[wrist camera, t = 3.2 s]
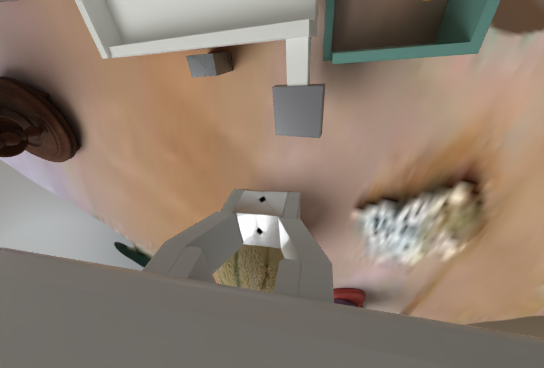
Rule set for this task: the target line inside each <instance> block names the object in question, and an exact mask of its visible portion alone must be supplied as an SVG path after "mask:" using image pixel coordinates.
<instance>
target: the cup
mask: <svg viewBox="0 0 544 368" xmlns="http://www.w3.org/2000/svg"><path fill="white" fill-rule="evenodd" d="M499 3H500V0H448V2H447V6H446V9H445V12H444V15H443V18H442V21H441V25H440V28H439V31H438V34H437V37H436V40H435V42H432V43H421V44H409V45H398V46H386V47H375V48H363V49H352V50H340V51H331V46H332V33H333V20H334V7H335V0H326V13H325V31H324V48H323V61H331V62H332V64H341V63H355V62H369V61H382V60H396V59H410V58H423V57H437V56H450V55H464V54H478V52H479V49H480V47H481V45H482V42H483V40H484V38H485V35H486V33H487V31H488V28H489V26H490V24H491V21H492V19H493V16H494V14H495V12H496V10H497V7H498V5H499Z"/></svg>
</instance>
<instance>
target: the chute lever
mask: <svg viewBox="0 0 544 368" xmlns="http://www.w3.org/2000/svg"><path fill="white" fill-rule="evenodd" d="M75 2H76V4H77V6H78V8H79V10H80V12H81V14H82V16H83V19H84V21H85V23H86V25H87V27H88V29H89V31H90V33H91V35H92V37H93V39H94V42H95V44H96V46H97V48H98V50H99V52H100V54H101V56H102V58H103V59H105V58H118V57H131V56H140V55H149V54H159V53H168V52H177V51H186V50H196V49H205V48H214V47H223V46H233V45H242V44H251V43H260V42H270V41H279V40H286V61H287V85H276V86H274V87H272V88H273V102H274V117H275V131H276V135H283V136H298V137H312V138H320V137H321V135H322V124H323V109H324V94H325V84H310V55H311V37H316V36H317V16H318V0H75Z"/></svg>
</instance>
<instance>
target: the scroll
mask: <svg viewBox="0 0 544 368" xmlns="http://www.w3.org/2000/svg"><path fill="white" fill-rule="evenodd" d="M47 96H48V93H46V92H42V91H35V90H33V89H32V88H30V87H29V86H27V85H25V84H24V83H22V82H20V81H17V80H15V79H12V78H8V77H0V157H12V156H16V155H18V154H20V153H22V152H23V151H24V150H26V151H28V152H29V153H31V154H33V155H36V156H38V157H40V158H43V159H45V160H48V161H52V162H64V161H66V160H68V159H71V158H72V157H73V156H74V155H75V153H76V151H77V150H79V149H80V147H81V146H80V145H76V141H75V138H74V135H73V133H72V131H71V129H70V127H69V125H68V124H67V122H66V121H65V120H64V118H63V117H62V116H61V114H60V113H59V112H58V111H57V110H56V109H55V108H54V107H53V105H52V104H51V103H49V102H48V101H47V100H46V99H45V98H46V97H47Z"/></svg>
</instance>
